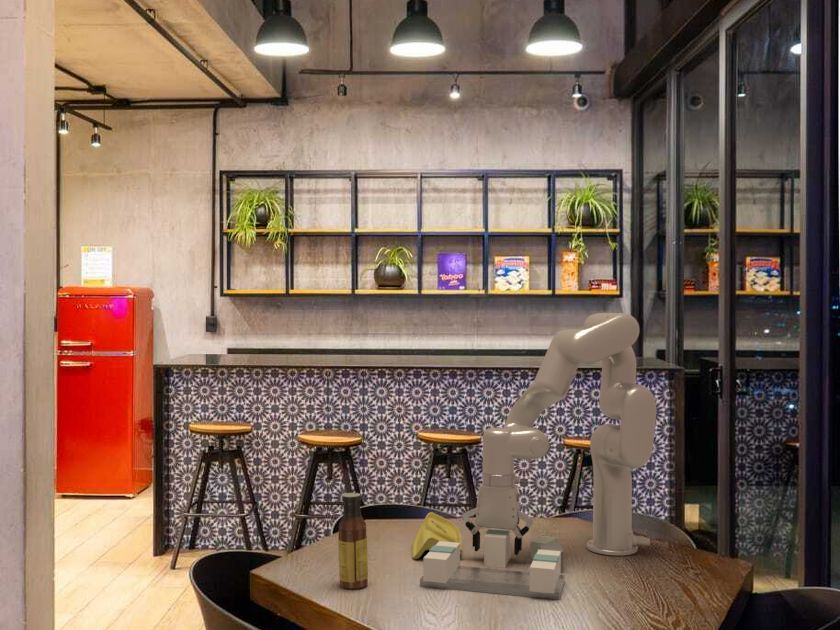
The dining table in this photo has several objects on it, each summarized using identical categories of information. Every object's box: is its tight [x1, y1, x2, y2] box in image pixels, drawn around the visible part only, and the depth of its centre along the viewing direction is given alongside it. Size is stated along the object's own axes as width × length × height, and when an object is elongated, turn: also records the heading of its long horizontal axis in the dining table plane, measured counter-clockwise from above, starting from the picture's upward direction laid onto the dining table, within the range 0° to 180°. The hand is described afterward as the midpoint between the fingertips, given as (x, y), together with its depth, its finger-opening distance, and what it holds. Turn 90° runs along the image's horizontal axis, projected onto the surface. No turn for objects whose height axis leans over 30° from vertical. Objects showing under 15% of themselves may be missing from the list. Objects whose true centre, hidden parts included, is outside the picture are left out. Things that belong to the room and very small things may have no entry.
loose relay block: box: [540, 544, 564, 574], centre depth 194 cm, size 5×6×5 cm
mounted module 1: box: [422, 541, 461, 583], centre depth 186 cm, size 5×14×5 cm, turn 165°
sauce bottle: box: [337, 492, 369, 590], centre depth 181 cm, size 7×6×20 cm
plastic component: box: [411, 511, 463, 560], centre depth 209 cm, size 20×7×10 cm
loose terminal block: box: [529, 534, 558, 558], centre depth 206 cm, size 4×7×4 cm, turn 147°
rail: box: [419, 565, 566, 601], centre depth 183 cm, size 30×12×2 cm, turn 75°
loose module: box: [483, 528, 512, 568], centre depth 200 cm, size 5×8×7 cm, turn 165°
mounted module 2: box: [529, 549, 562, 594], centre depth 180 cm, size 5×14×5 cm, turn 165°
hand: (496, 551), depth 200 cm, fingers open, 9 cm apart
